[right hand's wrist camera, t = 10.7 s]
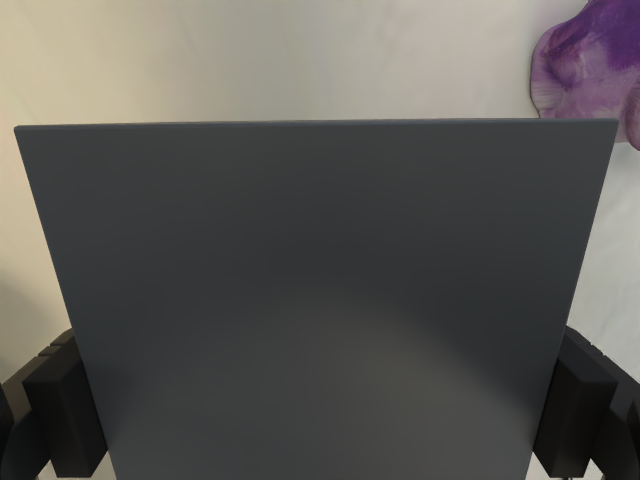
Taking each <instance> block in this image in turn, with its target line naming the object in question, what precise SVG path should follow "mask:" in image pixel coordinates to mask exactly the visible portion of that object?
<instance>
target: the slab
mask: <svg viewBox="0 0 640 480" xmlns="http://www.w3.org/2000/svg"><path fill="white" fill-rule="evenodd" d="M618 126H619V120H618V119H616V118H451V119H372V120H294V121H215V122H152V123H108V124H65V125H21V126H16V127H14V133H15V136H16V140H17V143H18V146H19V150H20V153H21V157H22V160H23V163H24V167H25V170H26V173H27V177H28V180H29V184H30V187H31V190H32V194H33V197H34V201H35V204H36V207H37V211H38V214H39V218H40V221H41V224H42V228H43V231H44V234H45V238H46V241H47V245H48V248H49V251H50V255H51V258H52V262H53V265H54V268H55V272H56V275H57V278H58V282H59V285H60V289H61V292H62V295H63V299H64V302H65V306H66V309H67V312H68V316H69V319H70V323H71V326H72V329H73V333H74V336H75V339H76V343H77V346H78V350H79V353H80V356H81V360H82V363H83V367H84V370H85V373H86V377H87V380H88V383H89V387H90V390H91V394H92V397H93V400H94V404H95V407H96V411H97V414H98V417H99V421H100V424H101V428H102V431H103V434H104V438H105V441H106V444H107V448H108V451H109V455H110V458H111V461H112V465H113V468H114V472H115V475H116V478H117V480H525V478H526V474H527V471H528V467H529V463H530V459H531V455H532V452H533V448H534V444H535V440H536V437H537V433H538V429H539V425H540V421H541V418H542V414H543V410H544V406H545V402H546V399H547V395H548V391H549V387H550V384H551V380H552V376H553V372H554V368H555V365H556V361H557V357H558V353H559V349H560V346H561V342H562V338H563V334H564V331H565V327H566V323H567V319H568V315H569V312H570V308H571V304H572V300H573V296H574V293H575V289H576V285H577V281H578V278H579V274H580V270H581V266H582V262H583V259H584V255H585V251H586V247H587V243H588V240H589V236H590V232H591V228H592V224H593V221H594V217H595V213H596V209H597V206H598V202H599V198H600V194H601V190H602V187H603V183H604V179H605V175H606V171H607V168H608V164H609V160H610V156H611V153H612V149H613V145H614V141H615V137H616V134H617V130H618Z"/></svg>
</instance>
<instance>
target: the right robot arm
mask: <svg viewBox="0 0 640 480" xmlns="http://www.w3.org/2000/svg"><path fill="white" fill-rule="evenodd" d="M107 451H108V448H107V444H106V441H105V438H104V434H103V431H102V428H101V424H100V421H99V417H98V414H97V411H96V407H95V404H94V400H93V397H92V394H91V390H90V387H89V383H88V380H87V377H86V373H85V370H84V367H83V363H82V360H81V356H80V353H79V350H78V346H77V343H76V339H75V336H74V333H73V329H72V328H71V329H69V330H67V331H65V332H64V333H62V334H61V335H60V336H59V337H58V338H57V339H55V340H54V341H53V342H52V343H51V344H50V346H47V347H46V348H45V349H44V350H42V351H41V352H40V353H39V354H38V357H34V358H33V359H32V360H31V361H29V362H28V363H27V364H26V365H25V366H24V367H22V368H21V369H20V370H19V371H18V372H17V373H15V374H14V375H13V376H12V377H11V378H9V379H8V380H7V381H6V382H5V383H4V384H2V385H1V383H0V480H39V478H38V476H37V475H38V474H39V473H40V472H41V470H42V469H43V468H44V467H45V465H46V464H47V463H48V461H49V460H51V462H52V465H53V468H54V470H55V473H56V476H57V478H91V476H92V475H93V473H94V471H95V470H96V468H97V467H98V465H99V463H100V462H101V460H102V459H103V457H104V456H105V454H106V452H107ZM533 452H534V454H535V455H536V457H537V458H538V460H539V461H540V463H541V465H542V466H543V468H544V469H545V471H546V473H547V474H548V476H549V477H550V478H583V477H584V474H585V471H586V469H587V466H588V463H589V461H590V458H591V459H592V460H593V462H594V463H595V464H596V465H597V467H598V468H599V469H600V470H601V472H602V473H603V476H602V478H601V480H640V384H639V383H638V382H637V381H635V380H634V379H633V378H632V377H631V376H629V375H628V374H627V373H626V372H625V371H624V370H622V369H621V368H620V367H619V366H618V365H616V364H615V363H614V362H613V361H612V360H611V359H609V358H608V357H607V356H606V355H603V353H602V352H601V351H600V350H599V349H597V348H596V347H595V346H594V345H591V343H590V342H589V341H588V340H587V339H586V338H584V337H583V336H582V335H581V334H580V333H579V332H577V331H576V330H574V329H572V328H570V327H569V326H567V325H566V327H565V331H564V334H563V338H562V342H561V346H560V349H559V353H558V357H557V361H556V365H555V368H554V372H553V376H552V380H551V384H550V387H549V391H548V395H547V399H546V402H545V406H544V410H543V414H542V418H541V421H540V425H539V429H538V433H537V437H536V440H535V444H534V448H533Z"/></svg>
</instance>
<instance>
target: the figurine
mask: <svg viewBox="0 0 640 480" xmlns="http://www.w3.org/2000/svg"><path fill="white" fill-rule="evenodd" d="M531 99H532V100H533V102H534V104H535V106H536V108H537V109H538V110H539V115H540V117H541V118H616V119H618V120H619V126H618V130H617V134H616V137H615V141H614V143H620V142H629V143H630V144H631V145H632V146H633V147H634V148H635V149H637V150H638V151H640V0H589V2H588V3H587V4H586V6H585V7H584V8H583V10H582V11H581V12H580V13H579V14H578V15H577V16H576V17H574V18H573V19H571V20H569V21H566V22H564V23H561V24H559V25H556V26H554V27H552V28H550V29H549V30H548V31H546V32H545V33H544V34H543V36H542V37H541V38H540V40H539V42H538V44H537V46H536V48H535V50H534V53H533V61H532V72H531Z"/></svg>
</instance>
